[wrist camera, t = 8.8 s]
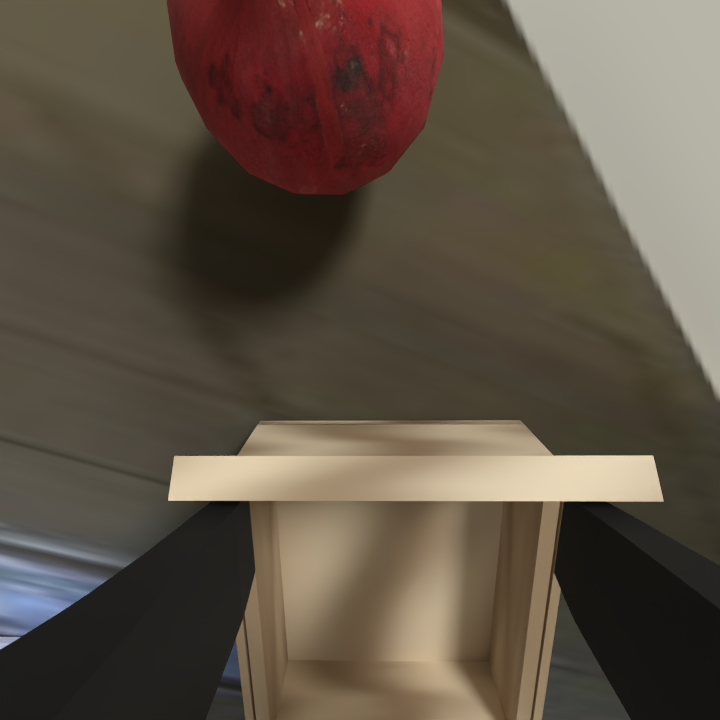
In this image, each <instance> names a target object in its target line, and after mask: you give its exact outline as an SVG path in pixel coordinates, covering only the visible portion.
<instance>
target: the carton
mask: <svg viewBox="0 0 720 720" xmlns="http://www.w3.org/2000/svg"><path fill="white" fill-rule="evenodd" d="M237 456H553V455H552V454H551V453H550V452H549V451H548V449H547V448H546V447H545V446H544V445H543V444H542V443H541V442H540V441H539V440H538V439H537V438H536V437H535V436H534V435H533V434H532V432H531V431H530V430H529V429H528V428H527V427H526V426H525V425H524V424H523V423H522V422H521V421H520V420H386V421H260V422H259V423H258V425H257V426H256V428H255V429H254V431H253V432H252V434H251V435H250V437H249V438H248V440H247V441H246V443H245V445H244V446H243V448H242V449H241V451H240V452H239V454H238V455H237ZM563 503H564V501H249V504H250V515H251V526H252V537H253V548H254V559H255V570H256V571H255V575H254V579H253V583H252V587H251V591H250V595H249V599H248V603H247V606H246V610H245V614H244V617H243V620H242V623H241V626H240V629H239V631H238V634H237V637H236V644H237V652H238V661H239V670H240V678H241V687H242V695H243V704H244V712H245V720H542V714H543V707H544V700H545V693H546V686H547V680H548V673H549V666H550V659H551V652H552V645H553V638H554V632H555V625H556V618H557V611H558V604H559V597H560V590H561V588H560V586H559V584H558V581H557V579H556V576H555V574H554V567H555V560H556V553H557V546H558V539H559V531H560V524H561V517H562V510H563Z"/></svg>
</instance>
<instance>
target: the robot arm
mask: <svg viewBox="0 0 720 720" xmlns="http://www.w3.org/2000/svg"><path fill="white" fill-rule="evenodd" d="M255 571H256V570H255V559H254V548H253V537H252V526H251V515H250V504H249V501H212V502H211V503H209V504H208V505H207V506H205V507H204V508H203V509H202V510H200V511H199V512H198V513H196V514H195V515H194V516H193V517H191V518H190V519H189V520H188V521H186V522H185V523H184V524H182V525H181V526H180V527H179V528H177V529H176V530H175V531H173V532H172V533H171V534H170V535H168V536H167V537H166V538H164V539H163V540H162V541H160V542H159V543H158V544H157V545H155V546H154V547H153V548H151V549H150V550H149V551H148V552H146V553H145V554H144V555H142V556H141V557H139V558H138V559H137V560H135V561H134V562H132V563H131V564H130V565H128V566H127V567H125V568H124V569H123V570H121V571H120V572H118V573H117V574H116V575H114V576H113V577H111V578H110V579H109V580H107V581H106V582H104V583H103V584H102V585H100V586H99V587H97V588H96V589H95V590H93V591H92V592H90V593H89V594H87V595H86V596H84V597H83V598H82V599H80V600H79V601H77V602H76V603H74V604H73V605H71V606H69V607H68V608H66V609H65V610H63V611H62V612H60V613H59V614H57V615H56V616H54V617H52V618H51V619H49V620H48V621H46V622H44V623H43V624H41V625H40V626H38V627H36V628H35V629H33V630H31V631H30V632H28V633H27V634H25V635H23V636H22V637H0V720H205V719H206V716H207V713H208V711H209V708H210V705H211V703H212V700H213V698H214V695H215V692H216V690H217V687H218V684H219V682H220V679H221V677H222V674H223V671H224V669H225V666H226V663H227V661H228V658H229V655H230V653H231V650H232V647H233V645H234V642H235V639H236V637H237V634H238V631H239V629H240V626H241V623H242V620H243V617H244V614H245V610H246V606H247V603H248V599H249V595H250V591H251V587H252V583H253V579H254V575H255ZM554 574H555V576H556V579H557V581H558V584H559V586H560V588H561V591H562V593H563V596H564V598H565V600H566V603H567V605H568V607H569V609H570V611H571V614H572V616H573V618H574V620H575V622H576V624H577V626H578V628H579V630H580V631H581V633H582V635H583V637H584V638H585V640H586V642H587V644H588V646H589V647H590V649H591V651H592V653H593V654H594V656H595V658H596V660H597V661H598V663H599V665H600V667H601V668H602V670H603V672H604V674H605V675H606V677H607V679H608V680H609V682H610V684H611V686H612V687H613V689H614V691H615V693H616V694H617V696H618V698H619V699H620V701H621V703H622V705H623V706H624V708H625V710H626V712H627V713H628V715H629V717H630V718H631V720H720V565H718V564H716V563H714V562H712V561H711V560H709V559H707V558H705V557H703V556H702V555H700V554H698V553H696V552H695V551H693V550H691V549H689V548H687V547H686V546H684V545H682V544H680V543H679V542H677V541H675V540H673V539H672V538H670V537H668V536H666V535H665V534H663V533H661V532H659V531H658V530H656V529H654V528H652V527H651V526H649V525H647V524H645V523H644V522H642V521H640V520H638V519H637V518H635V517H633V516H631V515H629V514H628V513H626V512H624V511H622V510H620V509H619V508H617V507H615V506H613V505H611V504H609V503H607V502H605V501H564V503H563V510H562V517H561V524H560V531H559V539H558V546H557V553H556V560H555V567H554Z"/></svg>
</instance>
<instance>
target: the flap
mask: <svg viewBox="0 0 720 720" xmlns="http://www.w3.org/2000/svg"><path fill="white" fill-rule="evenodd" d="M168 501H663V496H662V492H661V488H660V483H659V479H658V475H657V470H656V466H655V461H654V457H653V456H174V463H173V470H172V477H171V484H170V491H169V497H168Z"/></svg>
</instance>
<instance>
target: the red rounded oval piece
mask: <svg viewBox="0 0 720 720" xmlns="http://www.w3.org/2000/svg"><path fill="white" fill-rule="evenodd" d="M167 6H168V13H169V20H170V27H171V34H172V41H173V48H174V55H175V62H176V65H177V67H178V70H179V73H180V75H181V78H182V80H183V82H184V84H185V86H186V88H187V90H188V92H189V94H190V96H191V98H192V100H193V102H194V104H195V106H196V108H197V110H198V112H199V114H200V116H201V118H202V120H203V122H204V124H205V126H206V127H207V129H208V130H209V131H210V132H211V133H212V135H213V136H214V137H215V138H216V140H217V141H218V142H219V143H220V144H221V145H222V146H223V147H224V148H225V149H226V150H227V151H228V152H229V153H230V154H231V155H232V156H233V158H234V159H235V160H236V161H237V162H238V163H239V164H240V165H241V166H242V167H243V168H244V169H245V170H246V171H247V172H248V173H249V174H250V175H253V176H255V177H257V178H259V179H262V180H264V181H266V182H269V183H271V184H273V185H275V186H278V187H280V188H282V189H284V190H287V191H289V192H291V193H294V194H324V195H344V194H346V193H348V192H350V191H352V190H354V189H356V188H358V187H360V186H362V185H364V184H366V183H368V182H370V181H372V180H374V179H376V178H378V177H380V176H382V175H384V174H386V173H387V172H389V171H390V170H391V169H392V167H393V166H394V165H395V164H396V162H397V161H398V160H399V159H400V157H401V156H402V155H403V153H404V152H405V151H406V150H407V148H408V147H409V146H410V145H411V143H412V142H413V141H414V140H415V138H416V137H417V136H418V135H419V133H420V132H421V131H422V129H423V128H424V126H425V122H426V118H427V115H428V111H429V107H430V103H431V100H432V96H433V92H434V89H435V85H436V81H437V77H438V74H439V70H440V66H441V63H442V59H443V56H444V51H443V30H442V8H441V0H167Z"/></svg>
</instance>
